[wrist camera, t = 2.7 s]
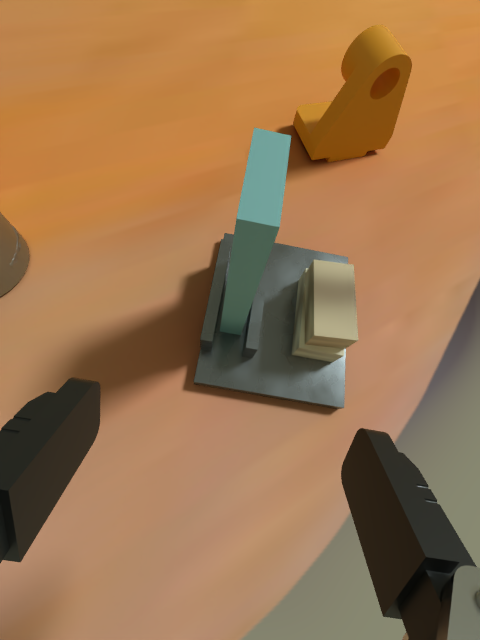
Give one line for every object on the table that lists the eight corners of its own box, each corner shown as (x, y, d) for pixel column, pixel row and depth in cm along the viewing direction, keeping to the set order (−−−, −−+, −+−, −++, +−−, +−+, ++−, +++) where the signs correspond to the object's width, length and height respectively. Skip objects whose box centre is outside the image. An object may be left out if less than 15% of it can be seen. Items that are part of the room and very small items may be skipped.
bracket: (358, 116, 44) (410, 7, 33) (380, 153, 42) (445, 50, 31) (289, 125, 42) (320, 12, 31) (309, 165, 39) (351, 58, 28)
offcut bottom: (332, 362, 29) (344, 355, 27) (291, 354, 29) (299, 347, 26) (336, 287, 32) (346, 275, 30) (298, 280, 32) (306, 267, 29)
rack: (338, 409, 29) (359, 404, 25) (194, 384, 28) (192, 375, 24) (343, 263, 35) (361, 240, 31) (224, 239, 34) (226, 213, 30)
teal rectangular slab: (240, 335, 29) (279, 227, 14) (219, 331, 29) (236, 218, 14) (249, 279, 31) (291, 135, 16) (229, 275, 31) (254, 127, 16)
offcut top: (344, 348, 27) (358, 340, 25) (304, 344, 27) (314, 335, 24) (341, 278, 29) (353, 264, 27) (305, 273, 29) (313, 259, 27)
